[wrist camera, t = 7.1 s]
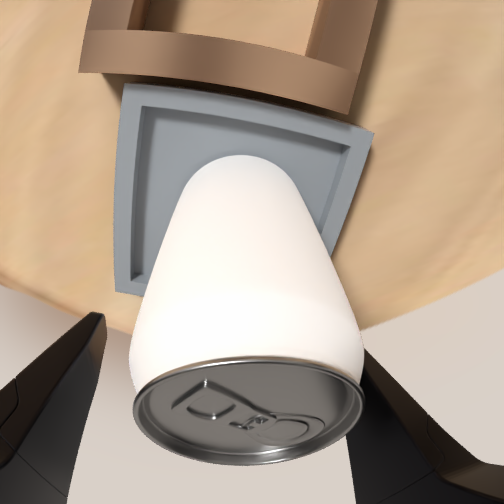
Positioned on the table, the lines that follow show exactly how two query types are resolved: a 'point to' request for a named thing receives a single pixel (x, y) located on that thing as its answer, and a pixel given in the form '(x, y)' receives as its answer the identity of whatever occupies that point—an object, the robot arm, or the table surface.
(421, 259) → the table surface
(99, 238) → the table surface
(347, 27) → the wooden square frame
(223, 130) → the tray
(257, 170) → the can
